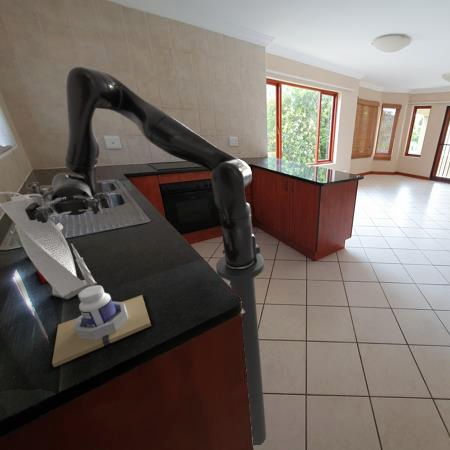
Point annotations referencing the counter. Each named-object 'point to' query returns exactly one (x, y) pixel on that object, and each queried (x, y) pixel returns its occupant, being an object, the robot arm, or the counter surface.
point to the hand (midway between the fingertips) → (69, 213)
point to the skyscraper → (47, 248)
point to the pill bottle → (96, 306)
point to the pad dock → (99, 331)
